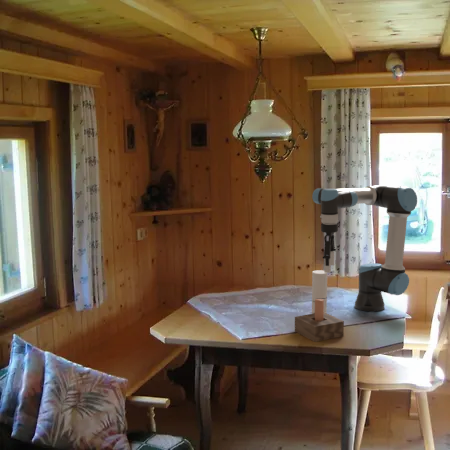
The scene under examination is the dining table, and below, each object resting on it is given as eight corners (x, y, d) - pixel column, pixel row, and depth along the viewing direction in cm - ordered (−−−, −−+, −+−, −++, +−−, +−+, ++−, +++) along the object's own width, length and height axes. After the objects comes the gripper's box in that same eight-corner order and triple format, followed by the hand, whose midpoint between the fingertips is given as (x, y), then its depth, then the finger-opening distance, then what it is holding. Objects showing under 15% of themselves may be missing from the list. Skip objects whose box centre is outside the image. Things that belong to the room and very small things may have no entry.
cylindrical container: (326, 324, 306) (327, 274, 301) (311, 323, 307) (311, 273, 303) (326, 319, 312) (327, 270, 308) (312, 319, 314) (312, 269, 310)
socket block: (322, 325, 304) (323, 311, 302) (343, 336, 289) (343, 321, 288) (294, 331, 296) (294, 316, 295) (314, 341, 282) (314, 326, 281)
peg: (319, 331, 296) (320, 298, 293) (324, 334, 292) (325, 300, 289) (312, 333, 294) (313, 299, 291) (317, 335, 290) (318, 301, 288)
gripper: (324, 218, 300) (324, 261, 303) (317, 228, 276) (317, 275, 280) (340, 218, 297) (340, 262, 301) (334, 228, 274) (334, 276, 278)
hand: (329, 268), depth 291 cm, fingers open, 13 cm apart
